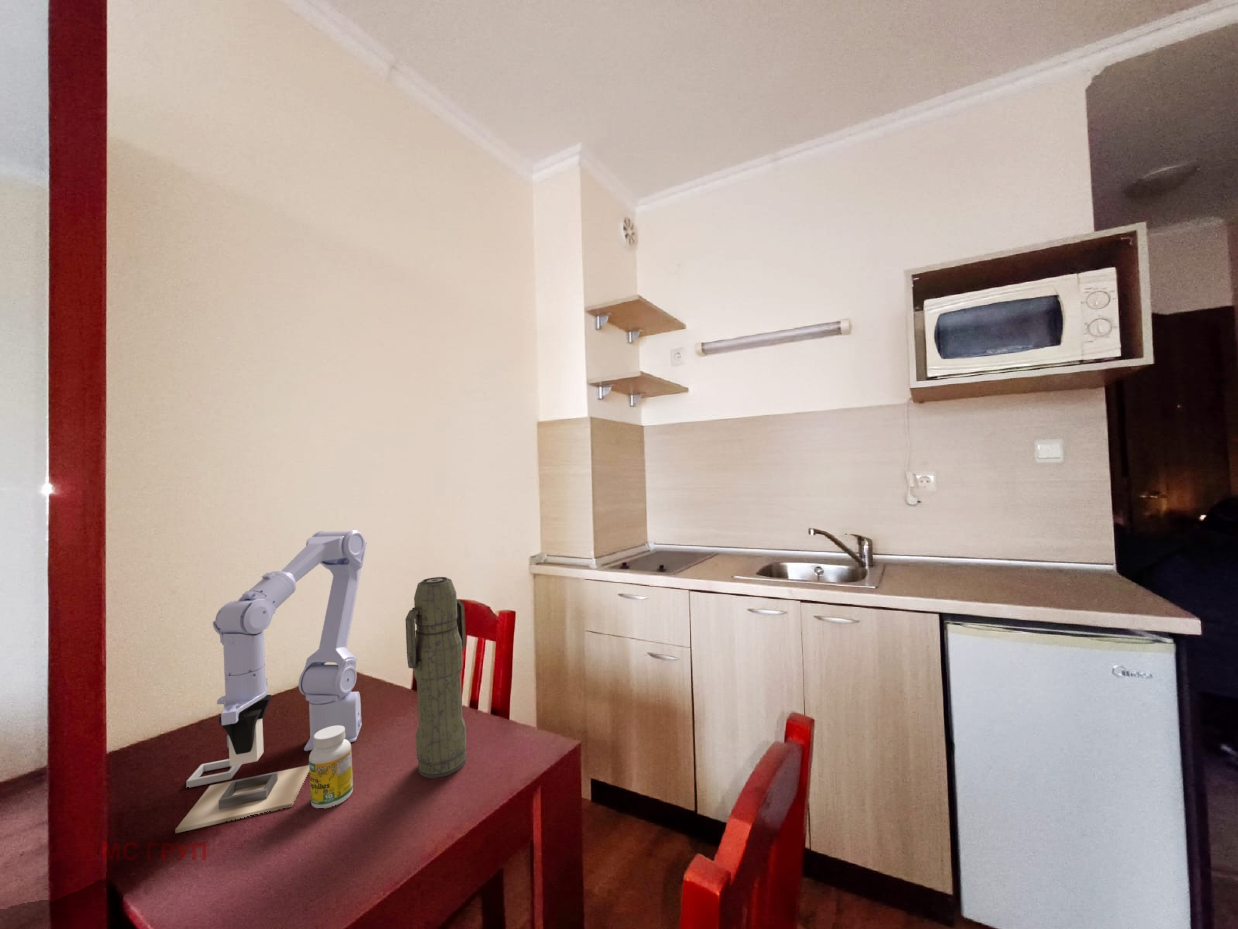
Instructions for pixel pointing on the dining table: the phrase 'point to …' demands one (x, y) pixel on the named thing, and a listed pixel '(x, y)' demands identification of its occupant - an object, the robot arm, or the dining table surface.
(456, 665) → the thermos
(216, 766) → the white picture frame
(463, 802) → the dining table surface
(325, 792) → the supplement bottle
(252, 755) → the plug
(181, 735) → the dining table surface
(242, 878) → the dining table surface
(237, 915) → the dining table surface
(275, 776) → the port board
